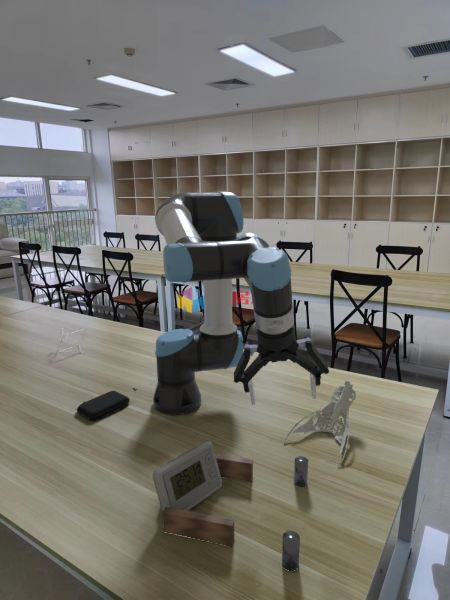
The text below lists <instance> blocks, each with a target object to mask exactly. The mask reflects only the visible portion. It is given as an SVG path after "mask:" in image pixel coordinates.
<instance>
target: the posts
mask: <svg viewBox="0 0 450 600" xmlns="http://www.w3.org/2000/svg"><path fill="white" fill-rule="evenodd" d="M293 468H294V469H293V472H294V473H293V484H294V485H295V486H296V487H297V488H305V487H307V486H308V476H309V474H308V472H309V471H308V470H309V460H308V458H307V457H305V456H303V455H301V456H300V455H299V456H296V457H294V467H293ZM300 543H301V536H300V535H299V533H298V532H296V531H293V530H286V531H285V532H284V533H283V534H282V547H281V548H282V549H281V552H282V554H281V566H282V565H283V566H282V568H283V567H284V568H285V569H287V570H289V571H294V570H296V569H297V568H298V569H299V566H300V547H301V546H300V545H301V544H300ZM284 568H283V569H284ZM285 569H284V570H285ZM298 569H297V570H298ZM287 570H286V571H287ZM297 570H296V571H297ZM289 571H288V572H289ZM294 572H295V571H294Z"/></svg>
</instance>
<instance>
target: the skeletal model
mask: <svg viewBox="0 0 450 600" xmlns="http://www.w3.org/2000/svg"><path fill="white" fill-rule="evenodd" d="M353 386H354V384H351V381H349V380H345V382H344V385H340V386H338V387H335V388H334V390H333V391H332V395H331V400H330V401H329V402H328V403H327V404H325V406H324V407H323V408H320V409H316V410H315V411H313V412H311V413H309V414H307V416H304V417H302V419H300V420H299V421H297V422H296V423H295V424H294V425H293V426H292V428H291V429H290V430H289V432H288V433H287V435H286V437H285V438H284V440H283V444H286V442H287V439H288V437H289V436H290V435H291V434H299V433H304V435H305V434H307V433H309V432H315V433H316V432H319V433H321V432H322V433H330V434H332V436H333V437H334V439H335V440H336V441H338V443H339V444H340V451H339V453H338V455H341V454H343V456H342V459H341V460H340V462H339V463H338V464H337V465H338V466H337V468H339V467H340V466H341V465H342V463H343V461H344V459H345V456H346V454H347V451H348V447H349V439H350V438H349V437H350V428H351V426H350V424H351V423H350V418H349V413H350V412H349V411H350V406H351V405H352V404H353V403H354V401H355V400H356V399H357V395H356V391H355V390H354V389H353ZM315 413H316V415H314V414H315ZM310 416H311V417H310ZM309 417H310V418H309ZM307 418H309V419H308V420H307V421H306V422H304V423H303V424H301V425H300V426H298V425H299V424H300V423H302V422H303V420H305V419H307ZM315 420H316V421H315ZM314 422H315V423H314ZM337 424H338V425H337ZM297 426H298V427H297ZM335 426H336V428H335ZM296 427H297V428H296ZM346 438H347V439H346ZM345 443H346V444H345ZM345 445H346V447H345ZM344 447H345V450H344ZM343 450H344V453H343Z"/></svg>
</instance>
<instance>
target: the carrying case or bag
mask: <svg viewBox="0 0 450 600" xmlns="http://www.w3.org/2000/svg"><path fill="white" fill-rule="evenodd" d="M130 401H131V399H130V397H128V396H127V395H125V394H122V393H121V392H118V391H117V390H110V391H107V392H105V393H102V394H100V395H99V396H96V397H93V398H92V399H90V400H87V401H83V402H82V403H81V404H80V405H79V404H78V406H77V408H76V413H78V414H79V415H80V416H82V415H83V417H84V418H85V419H88V420H90V421H92V422H94V421H97V420H100V419H102V418H104V417H106V416H108V415H110V414H113V413H114V411H115V412H116V410H117V411H119V410H120V408H121V409H122V407H123V408H124V407H126V406H128V404H129V403H130ZM118 409H119V410H118Z"/></svg>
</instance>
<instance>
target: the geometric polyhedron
mask: <svg viewBox="0 0 450 600" xmlns="http://www.w3.org/2000/svg"><path fill="white" fill-rule="evenodd" d="M74 329H78V330H75V331H73V332H69V333H68V332H67V331H66V330H65V328H64V327H61V328H60V334H59V339H58V343H57V350H56V353H58V354H59V353H60V354H61V353H62V354H64V353H65V354H71V352H70V351H69V352H63V351H65V350H68V349H72V348H75V349H76V350H78V351H79V352H80V354H82V353H83V351H82V350H83V349H84V345H82V347H81V345H80V344H81V342H82V339H83V338H85V337H86V330H87V328H86V327H74ZM83 330H84V331H83ZM80 331H83V332H82V334H81V338H80V340H79V343H78V341H76V339H74V338H73V337H72V336H71V334H73V333H76V332H77V333H78V332H80ZM64 332H65V333H66V334H64ZM61 336H62V337H61ZM66 336H69V337H70V338H71V339H72V340H73V341H74V342H76V344H77V345H74V344H73V343H72V342H71V341H70V340H69V339H68V338H67V337H66ZM63 338H65V339H66V340H67V341H68V342H69V343H70V344H71V345H72V346H71V347H68V348H65V349H62V350H60V347H61V345H62V342H63ZM84 343H85V339H83V342H82V344H84ZM77 346H79V347H78V348H79V349H78V348H77ZM59 350H60V351H59Z"/></svg>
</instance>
